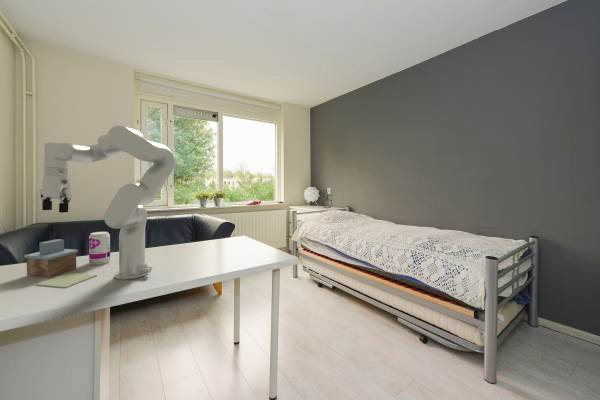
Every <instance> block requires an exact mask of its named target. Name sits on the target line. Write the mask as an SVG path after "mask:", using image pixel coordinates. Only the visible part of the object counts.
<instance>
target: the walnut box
mask: <svg viewBox="0 0 600 400" xmlns="http://www.w3.org/2000/svg"><path fill="white" fill-rule="evenodd" d="M75 270H77V252H76V253H73V254H69V255H65V256H61V257H58V258H54V259H50V260H47V259H34V258H26V276H27V277H34V278H44V279H53V278H56V277H59V276H62V275H65V274H68V273H71V272H73V271H75Z"/></svg>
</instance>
